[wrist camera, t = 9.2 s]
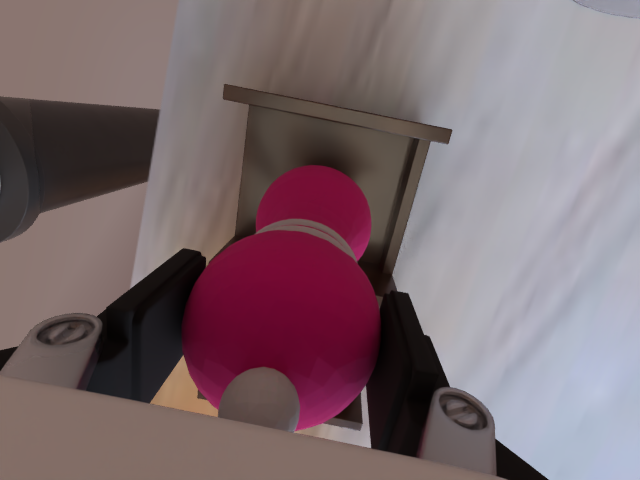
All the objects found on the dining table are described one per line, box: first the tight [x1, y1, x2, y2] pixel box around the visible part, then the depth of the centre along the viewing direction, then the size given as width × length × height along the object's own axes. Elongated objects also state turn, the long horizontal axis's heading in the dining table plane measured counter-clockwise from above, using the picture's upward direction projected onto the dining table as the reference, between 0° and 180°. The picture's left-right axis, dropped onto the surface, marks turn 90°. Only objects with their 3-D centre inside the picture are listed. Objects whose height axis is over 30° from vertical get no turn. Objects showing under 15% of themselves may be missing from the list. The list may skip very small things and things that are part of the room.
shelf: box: [198, 84, 452, 431], centre depth 32 cm, size 16×28×10 cm, turn 169°
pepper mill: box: [181, 165, 381, 433], centre depth 16 cm, size 7×7×20 cm
